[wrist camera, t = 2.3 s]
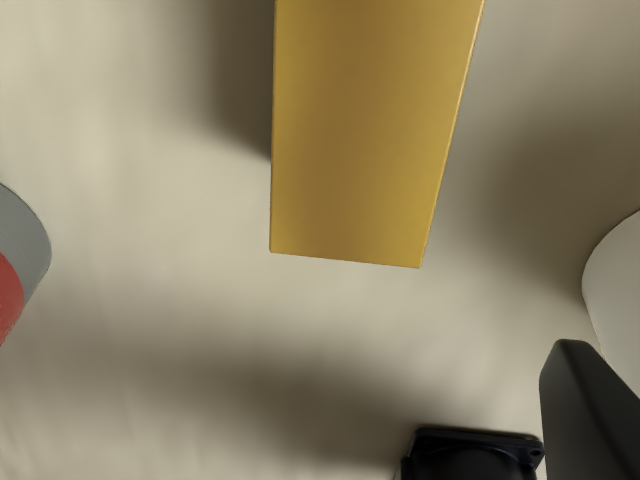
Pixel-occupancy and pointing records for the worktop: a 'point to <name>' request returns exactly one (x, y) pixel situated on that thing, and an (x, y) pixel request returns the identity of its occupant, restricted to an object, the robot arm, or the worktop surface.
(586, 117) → the worktop surface
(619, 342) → the pill bottle
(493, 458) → the robot arm
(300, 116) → the golden brown bar
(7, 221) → the tin can
